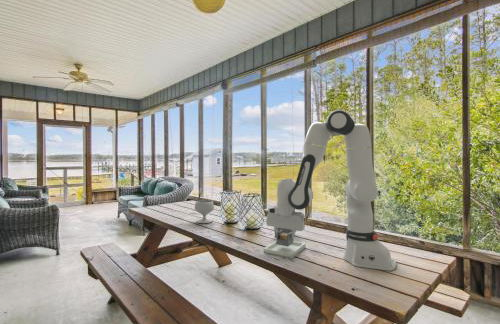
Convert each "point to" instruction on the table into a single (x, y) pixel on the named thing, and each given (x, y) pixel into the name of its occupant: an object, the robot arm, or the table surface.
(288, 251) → the tray
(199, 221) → the chalice
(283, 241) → the caddy
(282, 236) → the block
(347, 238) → the robot arm
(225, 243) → the table surface
